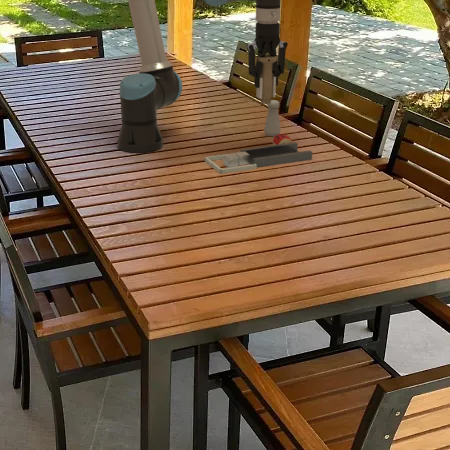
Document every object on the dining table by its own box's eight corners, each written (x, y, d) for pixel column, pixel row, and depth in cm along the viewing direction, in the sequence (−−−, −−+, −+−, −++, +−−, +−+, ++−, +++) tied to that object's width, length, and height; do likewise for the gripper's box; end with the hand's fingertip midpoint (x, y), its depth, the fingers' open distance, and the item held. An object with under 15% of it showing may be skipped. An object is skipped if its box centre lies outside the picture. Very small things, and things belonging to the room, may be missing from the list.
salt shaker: (275, 140, 249) (276, 103, 244) (261, 137, 252) (262, 101, 247) (283, 136, 254) (284, 100, 249) (268, 133, 257) (270, 97, 252)
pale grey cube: (228, 169, 220) (228, 158, 219) (223, 165, 223) (223, 155, 222) (238, 167, 222) (238, 156, 220) (233, 164, 225) (233, 153, 223)
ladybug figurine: (279, 151, 239) (279, 141, 237) (267, 143, 247) (268, 133, 246) (297, 149, 241) (298, 139, 240) (285, 141, 249) (285, 131, 248)
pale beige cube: (239, 166, 222) (239, 156, 221) (234, 163, 225) (234, 152, 224) (249, 165, 224) (249, 154, 222) (244, 162, 227) (244, 151, 225)
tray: (220, 176, 215) (220, 170, 215) (204, 163, 226) (204, 157, 225) (256, 171, 220) (256, 164, 219) (238, 159, 231) (238, 152, 230)
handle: (277, 104, 229) (279, 57, 223) (258, 105, 228) (259, 58, 222) (273, 101, 233) (274, 54, 227) (254, 102, 232) (255, 55, 226)
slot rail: (255, 170, 221) (255, 159, 219) (240, 160, 230) (240, 149, 229) (311, 162, 228) (312, 151, 227) (295, 152, 237) (295, 142, 236)
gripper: (247, 25, 214) (246, 102, 224) (298, 22, 220) (294, 97, 230) (237, 21, 221) (236, 96, 230) (286, 18, 227) (284, 91, 236)
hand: (265, 96), depth 230 cm, fingers closed on handle, 4 cm apart
